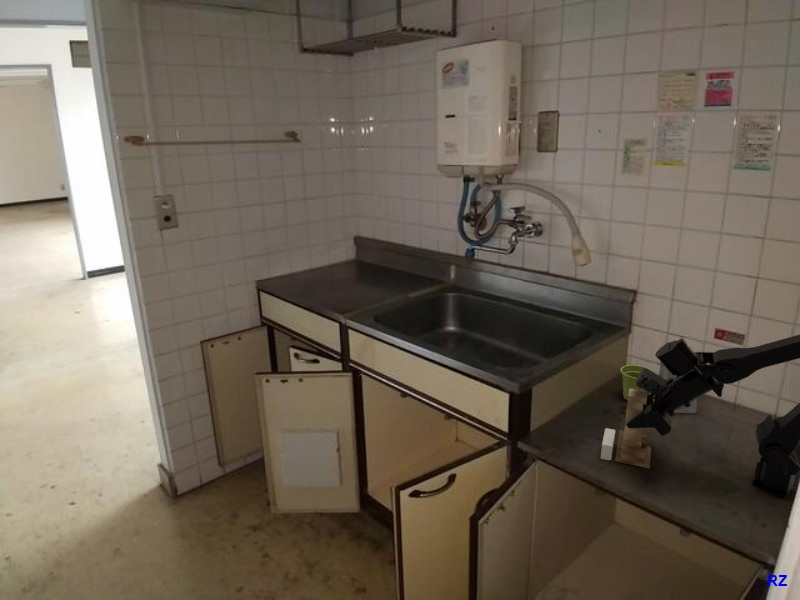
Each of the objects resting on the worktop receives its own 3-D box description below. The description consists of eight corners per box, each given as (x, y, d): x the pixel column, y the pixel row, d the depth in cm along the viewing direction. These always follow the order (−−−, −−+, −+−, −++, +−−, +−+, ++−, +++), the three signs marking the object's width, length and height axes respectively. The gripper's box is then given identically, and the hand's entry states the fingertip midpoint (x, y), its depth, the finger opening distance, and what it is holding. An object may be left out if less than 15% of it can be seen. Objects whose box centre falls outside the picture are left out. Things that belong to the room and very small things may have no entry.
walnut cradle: (650, 450, 137) (652, 436, 136) (649, 468, 130) (651, 453, 129) (617, 443, 140) (619, 430, 139) (615, 461, 133) (616, 446, 132)
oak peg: (640, 446, 135) (647, 391, 131) (639, 454, 132) (646, 398, 127) (623, 442, 137) (629, 388, 132) (621, 451, 134) (628, 395, 129)
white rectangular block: (613, 443, 140) (615, 430, 139) (610, 460, 133) (612, 446, 132) (603, 441, 141) (605, 428, 140) (600, 458, 134) (602, 444, 133)
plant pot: (635, 388, 168) (638, 362, 165) (659, 402, 160) (663, 375, 157) (610, 394, 165) (613, 368, 162) (633, 408, 157) (637, 381, 154)
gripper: (661, 347, 134) (609, 380, 141) (660, 379, 117) (601, 414, 125) (693, 382, 133) (638, 413, 141) (696, 419, 117) (634, 452, 125)
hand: (628, 422), depth 133 cm, fingers closed on oak peg, 4 cm apart
